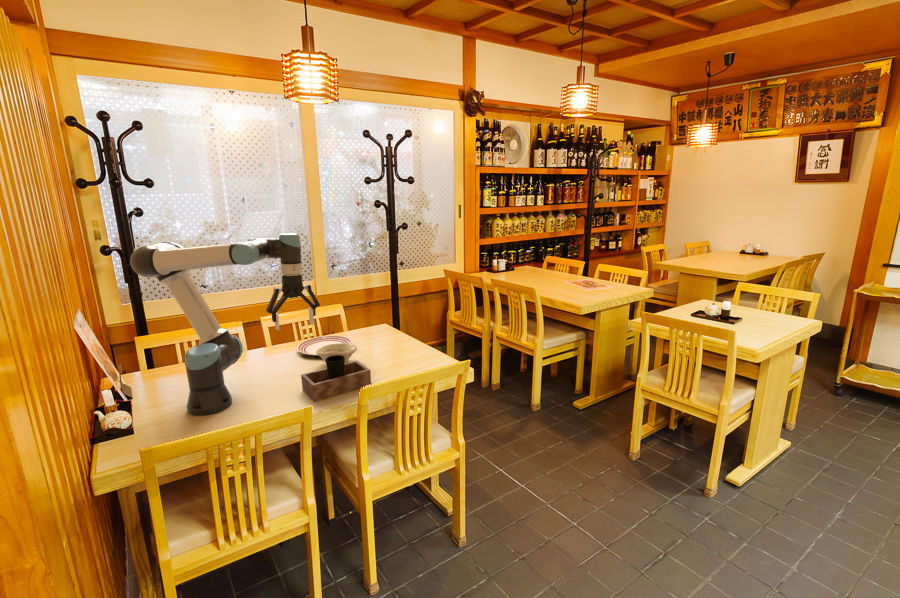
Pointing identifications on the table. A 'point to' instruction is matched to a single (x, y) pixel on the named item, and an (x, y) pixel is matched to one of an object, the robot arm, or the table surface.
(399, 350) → the table surface
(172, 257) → the robot arm
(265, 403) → the table surface
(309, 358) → the table surface
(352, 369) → the open wooden box
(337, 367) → the cup
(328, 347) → the bowl
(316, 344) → the dinner plate
